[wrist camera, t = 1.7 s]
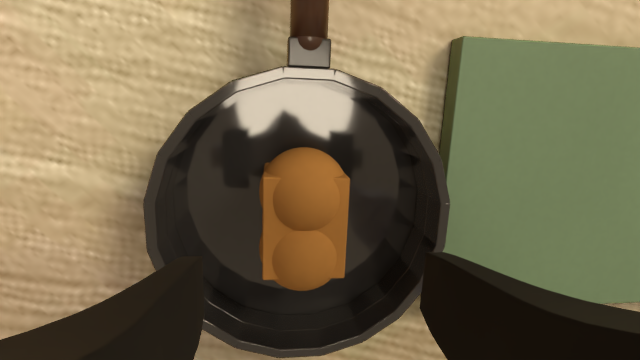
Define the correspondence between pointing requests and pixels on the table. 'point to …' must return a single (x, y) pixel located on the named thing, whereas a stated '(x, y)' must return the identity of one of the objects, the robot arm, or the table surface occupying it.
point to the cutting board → (545, 164)
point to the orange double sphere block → (303, 219)
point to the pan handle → (309, 34)
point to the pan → (246, 211)
